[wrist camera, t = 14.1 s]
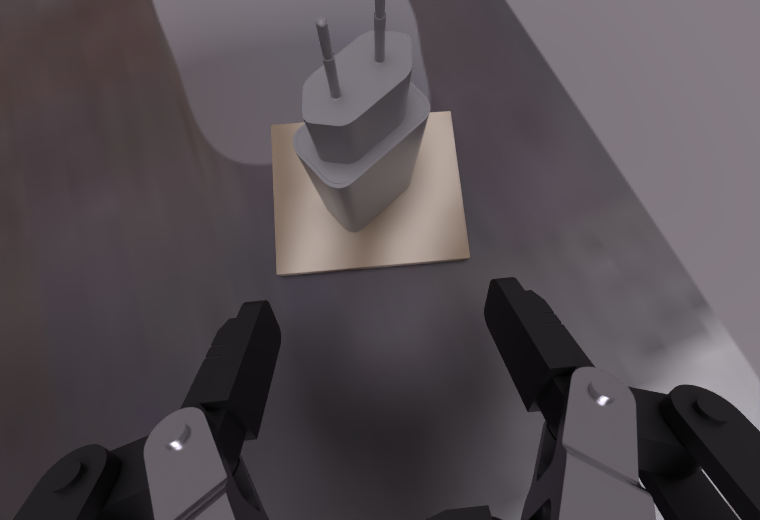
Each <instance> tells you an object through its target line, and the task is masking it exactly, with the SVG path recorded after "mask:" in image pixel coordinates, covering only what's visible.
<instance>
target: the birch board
mask: <svg viewBox="0 0 760 520" xmlns="http://www.w3.org/2000/svg"><path fill="white" fill-rule="evenodd" d="M303 124H305V122H304V123H291V124H278V125H271V137H272V163H273V189H274V214H275V240H276V266H277V275H280V276H290V275H301V274H313V273H324V272H335V271H347V270H358V269H369V268H381V267H392V266H403V265H415V264H426V263H438V262H449V261H460V260H467V259H469V258H470V253H469V245H468V238H467V231H466V223H465V216H464V208H463V201H462V194H461V186H460V179H459V171H458V164H457V157H456V149H455V142H454V135H453V127H452V120H451V112H450V111H446V112H433V113H429V117H428V120H427V124H426V128H425V131H424V135H423V139H422V142H421V146H420V149H419V153H418V157H417V160H416V164H415V168H414V171H413V175H412V179H411V182H410V185H409V187H408V188H407V190H406V191H404V192H403V193H402V194H401V195H400V196H399V197H398V198H397V199H395V200H394V201H393V202H392V203H391V204H390V205H389V206H388V207H386V208H385V209H384V210H383V211H382V212H381V213H380V214H379V215H377V216H376V217H375V218H374V219H373V220H372V221H371V222H370V223H369V224H367V225H366V226H365V227H364V228H363V229H361V230H360V231H358V232H350V231H347V230H346V229H345V228H344V227H343V226H342V225H341V224H340V223H339V222H338V221H337V220H336V219H335V218H334V217H333V215H332V214H331V213H330V212H329V211H328V210H327V208H326V206H325V205H324V203H323V201H322V199H321V197H320V196H319V194H318V192H317V190H316V188H315V186H314V185H313V183H312V181H311V179H310V177H309V176H308V174H307V172H306V170H305V168H304V166H303V165H302V163H301V161H300V159H299V157H298V156H297V154H296V152H295V150H294V147H293V136H294V134H295V133H296V131H297V130H298V129H299V128H300V127H301V126H302V125H303Z"/></svg>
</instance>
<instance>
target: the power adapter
mask: <svg viewBox="0 0 760 520" xmlns="http://www.w3.org/2000/svg"><path fill="white" fill-rule="evenodd" d="M385 22H386V13H385V0H375V13H374V30H371V31H369V32H366V33H364V34H362V35H361V36H359V37H358V38H357V39H356V40H354V41H353V42H352V43H351V44H349V45H348V46H347V47H345V48H344V49H343V50H342V51H341V52H339V53H338V54H337V55H335V56H334V53H333V52H332V48H331V41H330V36H329V30H328V25H327V20H326V19H325V18H324V17H319V18H317V20H316V27H317V31H318V36H319V41H320V45H321V49H322V58H323V63H324V65H323V66H322V67H320V68H319V69H318V70H317V71H316V72H314V73H313V74H312V75H311V76H310V77H309V78H308V79H307V80H306V82H305V83H304V86H303V93H302V95H303V96H302V98H303V99H302V101H303V102H302V115H303V119H304V121H305V124H303V125H302V126H301V127H300V128H299V129H298V130H297V131H296V133H295V134H294V136H293V147H294V150H295V152H296V154H297V156H298V157H299V159H300V161H301V163H302V165H303V166H304V168H305V170H306V172H307V174H308V176H309V177H310V179H311V181H312V183H313V185H314V186H315V188H316V190H317V192H318V194H319V196H320V197H321V199H322V201H323V203H324V205H325V206H326V208H327V210H328V211H329V212H330V213H331V214H332V215H333V217H334V218H335V219H336V220H337V221H338V222H339V223H340V224H341V225H342V226H343V227H344V228H345V229H346V230H347V231H350V232H358V231H360V230H361V229H363V228H364V227H365V226H366V225H367V224H369V223H370V222H371V221H372V220H373V219H374V218H375V217H376V216H377V215H379V214H380V213H381V212H382V211H383V210H384V209H385V208H386V207H388V206H389V205H390V204H391V203H392V202H393V201H394V200H395V199H397V198H398V197H399V196H400V195H401V194H402V193H403V192H404V191H406V190H407V188H408V187H409V185H410V182H411V179H412V175H413V171H414V168H415V164H416V160H417V157H418V153H419V149H420V146H421V142H422V139H423V135H424V131H425V128H426V124H427V120H428V117H429V113H430V104H429V101H428V99H427V97H426V96H425V95H424V94H423V93H422V92H421V91H420V90H419V89H418V88H417V87H416V86H415V85H413V83H412V82H410V78H411V71H412V45H411V38H410V36H409V35H408V34H406V33H402V32H391V31H385Z"/></svg>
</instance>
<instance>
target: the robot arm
mask: <svg viewBox="0 0 760 520" xmlns="http://www.w3.org/2000/svg"><path fill="white" fill-rule="evenodd" d="M484 316H485V321H486V324H487V327H488V329H489V331H490V333H491V335H492V337H493V339H494V342H495V344H496V346H497V348H498V350H499V352H500V354H501V356H502V358H503V361H504V363H505V365H506V367H507V369H508V371H509V373H510V375H511V377H512V380H513V382H514V384H515V386H516V388H517V390H518V392H519V394H520V396H521V399H522V401H523V403H524V405H525V407H526V409H527V411H528V412H535V411H541V412H542V414H543V416H544V418H545V422H544V424H543V429H542V434H541V439H540V444H539V449H538V454H537V459H536V464H535V469H534V474H533V479H532V483H531V487H530V490H529V493H528V495H527V498H526V501H525V504H524V508H523V511H522V516H521V520H656V516H655V506H654V503H655V505H656V506H657V508H658V510H659V511H660V513H661V515H662V516H663V518H664V520H739V519H738V518H737V516H736V515H735V514H734V512H733V511H732V510H731V509H730V507H729V506H728V504H727V503H726V502H725V501H724V499H723V498H722V497H721V495H720V494H719V493H718V491H717V490H716V489H715V487H714V486H713V485H712V483H711V482H710V481H709V480H708V478H707V477H706V476H705V474H704V473H703V472H702V469H703V470H704V471H705V473H706V474H707V475H708V476H709V478H710V479H711V480H712V482H713V483H714V484H715V486H716V487H717V488H718V489H719V491H720V492H721V493H722V495H723V496H724V497H725V499H726V500H727V501H728V502H729V504H730V505H731V506H732V507H733V509H734V510H735V512H736V513H737V514H738V515H739V517H740V518H741V519H742V520H760V431H759V430H758V429H757V428H756V427H755V426H754V425H753V424H752V423H751V422H750V421H749V420H748V419H747V418H746V417H745V416H744V415H743V414H742V413H741V412H740V411H739V410H738V409H737V408H736V407H735V406H733V405H732V404H731V403H730V402H728V401H727V400H725V399H724V398H722V397H721V396H719V395H717V394H716V393H714V392H711V391H709V390H707V389H704V388H702V387H698V386H694V385H679V386H676V387H675V388H674V389H673V390H672V391H671V392H670V393H669V394H663V393H658V392H653V391H647V390H642V389H637V388H632V387H628V386H626V385H625V383H624V382H622V381H621V380H620V379H619V378H617V377H616V376H615V375H613V374H611V373H609V372H607V371H605V370H602V369H599V368H596V367H595V366H594V365H593V364H592V363H591V361H590V360H589V359H588V357H587V356H586V355H585V353H584V352H583V351H582V349H581V348H580V347H579V345H578V344H577V343H576V341H575V340H574V339H573V337H572V336H571V334H570V333H569V332H568V330H567V329H566V328H565V326H564V325H562V324H561V321H560V320H559V318H558V317H557V316H556V314H555V315H554V312H553V310H552V309H551V308H550V306H549V305H548V304H547V302H546V301H545V300H544V299H543V298H541V297H540V296H538V295H537V294H536V293H534V292H533V291H532V290H528V291H525V290H524V289H523V287H522V286H521V285H520V283H519V282H518V280H517V279H516V278H514V277H510V278H500V279H492V280H491V282H490V285H489V289H488V294H487V299H486V303H485V308H484ZM280 344H281V331H280V328H279V325H278V323H277V320H276V318H275V315H274V313H273V311H272V308H271V306H270V304H269V302H268V301H267V300H264V301H253V302H245V303H243V305H242V306H241V308H240V311H239V313H238V315H237V318H231V319H229V320H228V321H227V322H226V323H225V324H224V325H223V326H222V327H221V328H220V329H219V330H218V332H217V334H216V336H215V338H214V340H213V342H212V344H211V348H209V351H208V353H207V355H206V359H204V361H203V363H202V365H201V367H200V369H199V371H198V373H197V375H196V378H195V380H194V382H193V384H192V386H191V388H190V390H189V392H188V394H187V396H186V398H185V400H184V403H183V404H182V406H181V408H180V409H179V410H177V411H175V412H173V413H172V414H170V415H168V416H167V417H166V418H164V419H163V420H162V421H161V422H160V423H159V424H158V425H157V426H156V427H155V428H154V429H153V431H152V432H151V434H150V435H148V436H146V437H144V438H141V439H139V440H137V441H134V442H132V443H129V444H127V445H124V446H122V447H119V448H117V449H115V450H112V451H109V450H107V449H106V448H104V447H102V446H100V445H96V444H93V445H87V446H84V447H81V448H78V449H76V450H74V451H72V452H71V453H69V454H68V455H66V456H65V457H63V458H62V459H60V460H59V461H58V462H57V463H56V464H54V465H53V466H52V467H51V468H50V469H49V470H48V471H47V472H46V474H45V475H44V476H43V477H42V478H41V480H40V481H39V482H38V484H37V485H36V487H35V488H34V490H33V491H32V493H31V494H30V495H29V497H28V498H27V500H26V501H25V503H24V504H23V506H22V507H21V509H20V510H19V512H18V513H17V515H16V516H15V518H14V519H13V520H269V518H268V516H267V514H266V512H265V510H264V508H263V506H262V503H261V501H260V499H259V496H258V494H257V491H256V489H255V487H254V484H253V482H252V480H251V477H250V475H249V473H248V470H247V468H246V465H245V463H244V461H243V458H242V456H241V454H240V453H241V449H242V446H243V442H244V440H254V439H257V437H258V433H259V429H260V425H261V421H262V417H263V413H264V409H265V405H266V401H267V397H268V393H269V389H270V385H271V381H272V377H273V373H274V369H275V365H276V361H277V357H278V353H279V349H280ZM639 478H640V480H641V482H642V483H643V485H644V487H645V488H646V489H645V488H643V487H642V486H641V485H640V482H639ZM653 501H654V502H653ZM427 520H502V519H499V518H496V517H492V516H491V513H490V510H489V506H488V505H487V506H478V507H469V508H460V509H451V510H445V511H443V512H441V513H439V514H437V515H435V516H433V517H431V518H429V519H427Z"/></svg>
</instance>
